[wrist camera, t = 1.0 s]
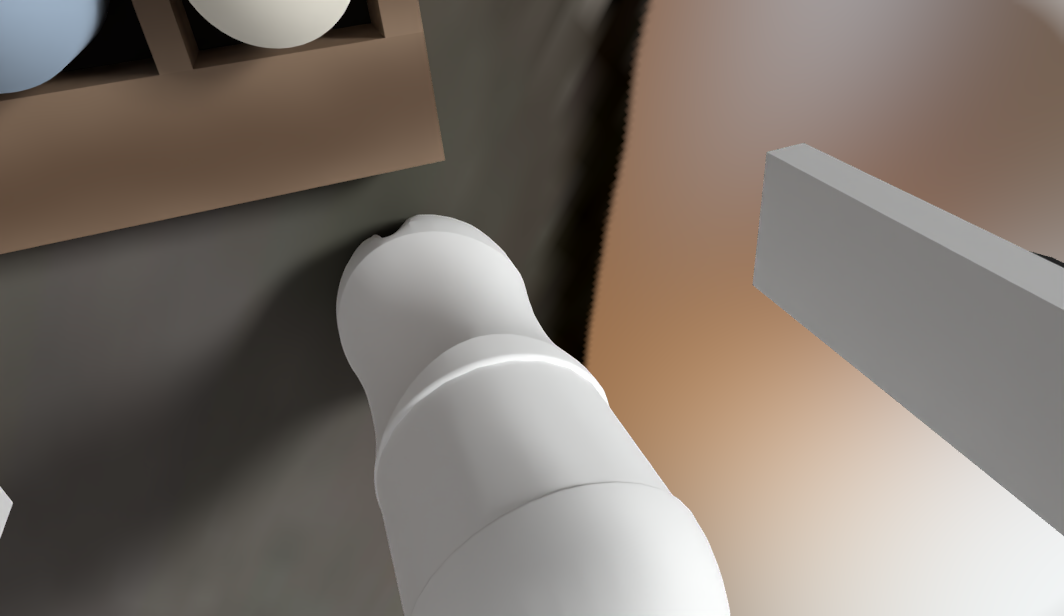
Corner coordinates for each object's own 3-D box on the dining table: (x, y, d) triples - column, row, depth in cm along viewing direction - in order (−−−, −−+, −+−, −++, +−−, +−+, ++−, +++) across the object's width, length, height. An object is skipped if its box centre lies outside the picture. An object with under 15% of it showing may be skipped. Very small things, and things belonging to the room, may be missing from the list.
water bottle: (530, 270, 31) (1076, 996, 10) (414, 375, 31) (717, 1247, 11) (421, 159, 26) (983, 1016, 6) (290, 284, 27) (416, 1416, 7)
